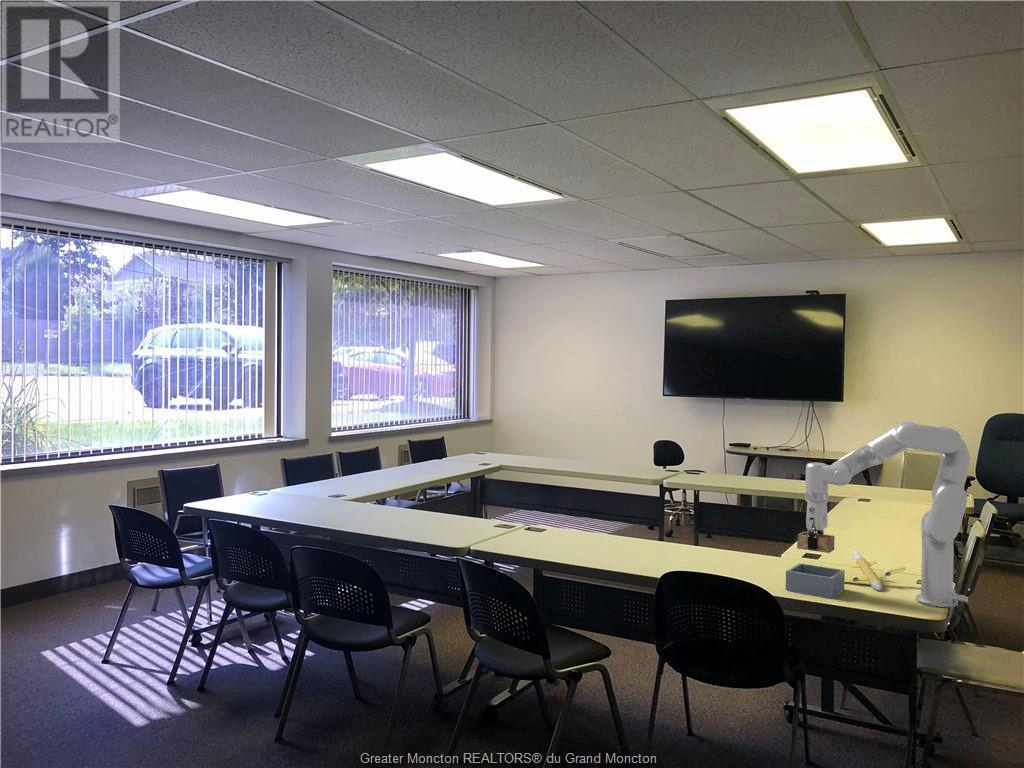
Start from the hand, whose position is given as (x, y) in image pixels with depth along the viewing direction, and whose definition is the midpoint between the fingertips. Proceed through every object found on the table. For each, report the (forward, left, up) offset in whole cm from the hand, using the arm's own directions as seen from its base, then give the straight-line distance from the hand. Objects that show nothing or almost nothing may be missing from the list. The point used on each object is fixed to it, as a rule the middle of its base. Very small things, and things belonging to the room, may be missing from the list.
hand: (815, 546), depth 278 cm
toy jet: (-12, -24, -16) cm, 31 cm away
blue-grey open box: (0, 0, -16) cm, 16 cm away
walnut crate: (0, 0, -1) cm, 1 cm away
